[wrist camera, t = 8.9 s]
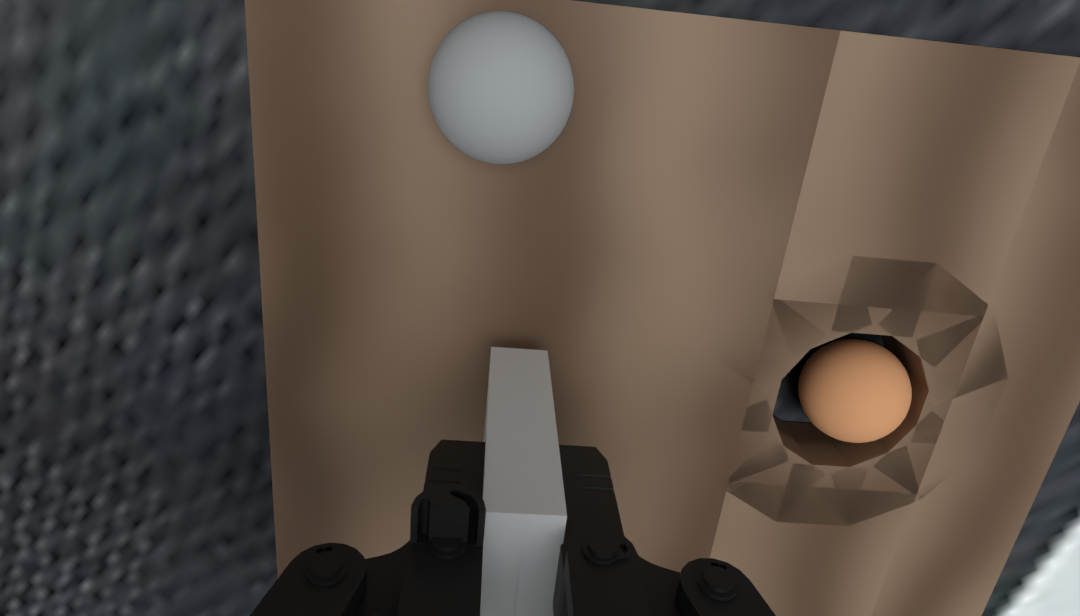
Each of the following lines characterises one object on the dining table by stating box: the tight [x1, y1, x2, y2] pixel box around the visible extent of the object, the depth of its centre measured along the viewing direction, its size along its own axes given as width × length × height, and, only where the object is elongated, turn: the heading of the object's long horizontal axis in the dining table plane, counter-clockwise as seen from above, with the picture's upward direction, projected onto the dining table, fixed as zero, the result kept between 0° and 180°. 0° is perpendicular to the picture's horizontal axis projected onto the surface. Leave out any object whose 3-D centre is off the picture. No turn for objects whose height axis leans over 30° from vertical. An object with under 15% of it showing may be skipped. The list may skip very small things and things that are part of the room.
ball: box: [798, 339, 912, 443], centre depth 21 cm, size 3×3×3 cm
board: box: [244, 0, 1080, 616], centre depth 21 cm, size 24×20×2 cm
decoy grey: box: [428, 11, 574, 164], centre depth 15 cm, size 3×3×3 cm
